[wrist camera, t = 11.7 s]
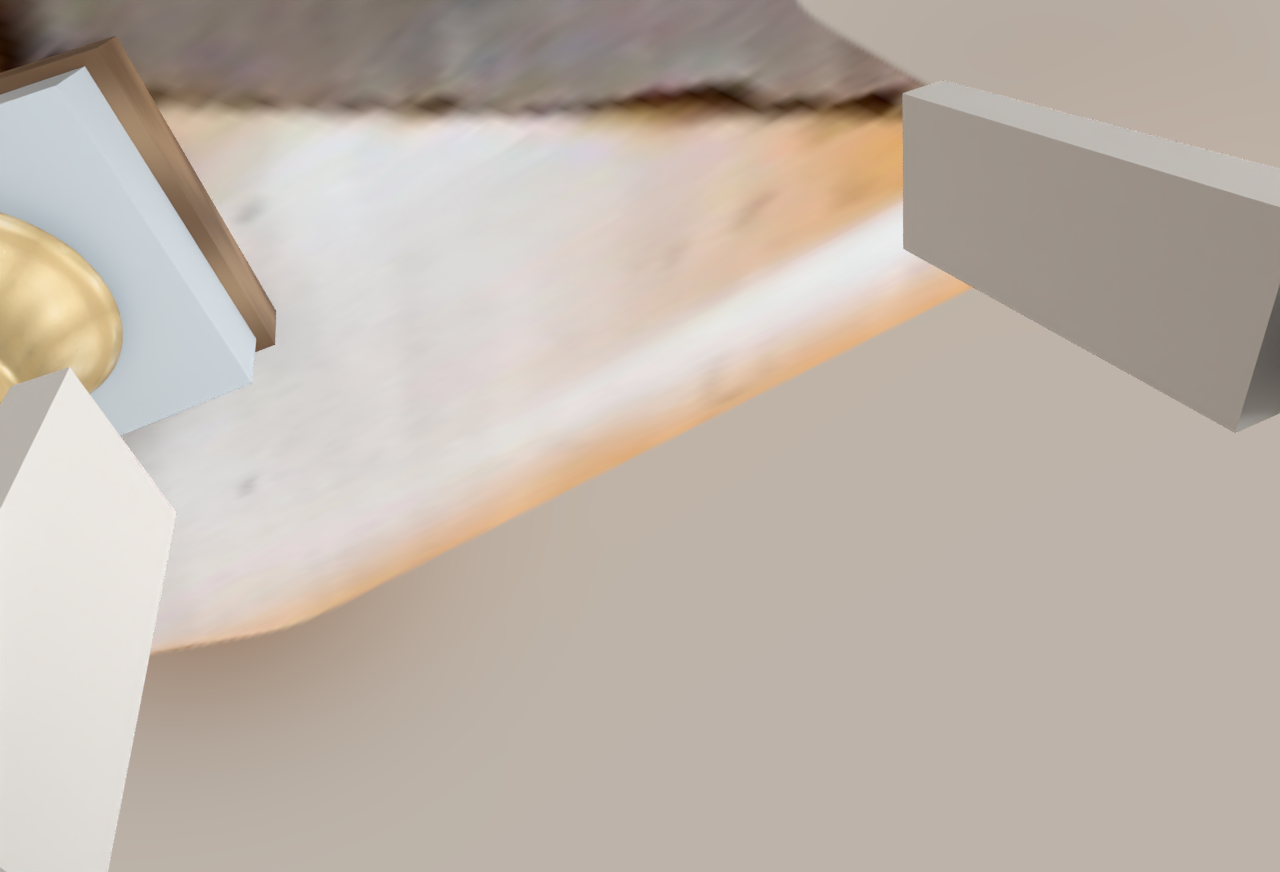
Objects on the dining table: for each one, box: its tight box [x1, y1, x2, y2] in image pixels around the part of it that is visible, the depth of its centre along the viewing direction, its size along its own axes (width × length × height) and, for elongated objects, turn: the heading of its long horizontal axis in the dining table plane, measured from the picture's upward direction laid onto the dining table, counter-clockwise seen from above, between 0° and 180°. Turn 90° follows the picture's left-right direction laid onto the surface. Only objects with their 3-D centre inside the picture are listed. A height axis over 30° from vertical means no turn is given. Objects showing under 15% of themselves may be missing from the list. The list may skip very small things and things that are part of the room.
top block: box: [0, 66, 256, 436], centre depth 31 cm, size 12×12×4 cm
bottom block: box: [0, 36, 276, 352], centre depth 35 cm, size 13×13×4 cm
